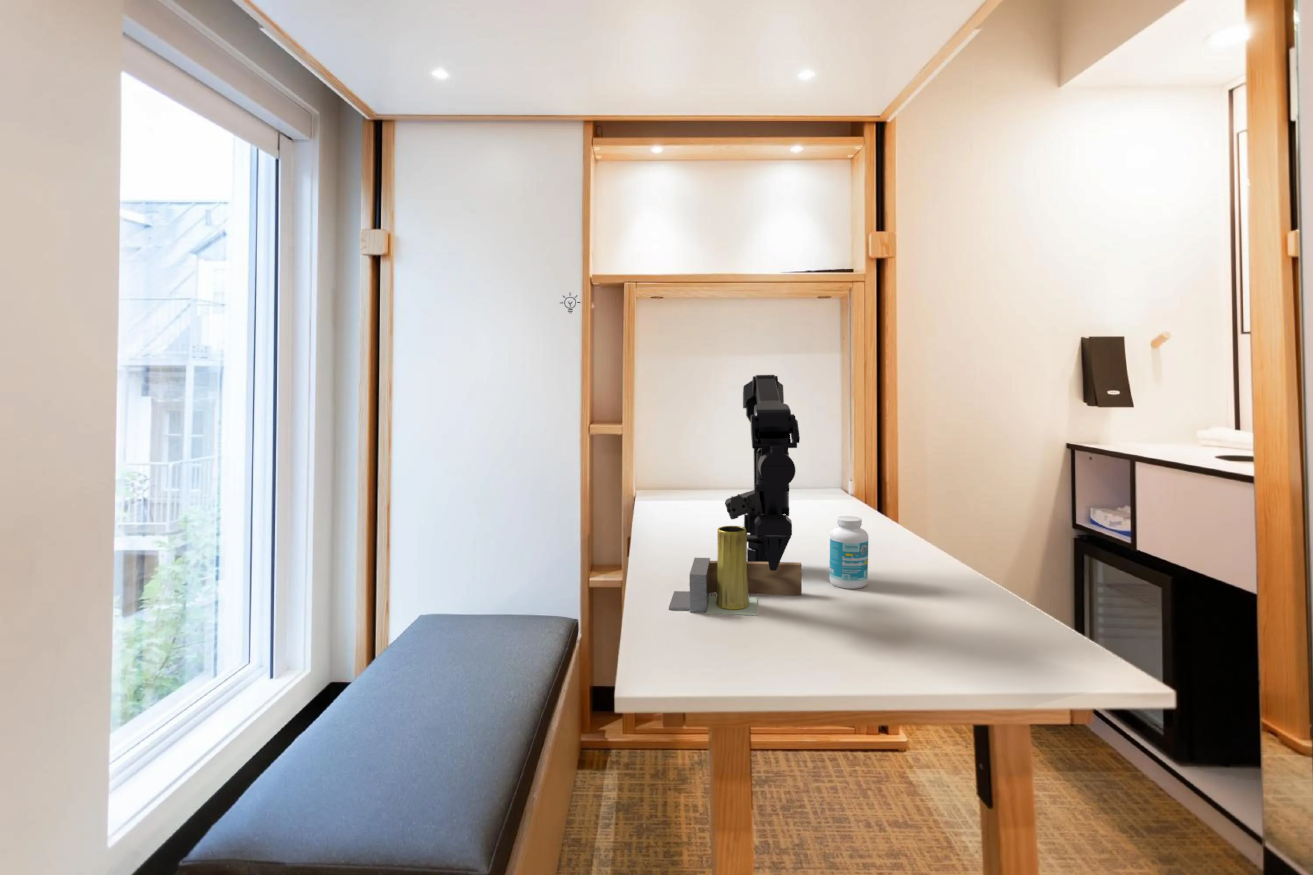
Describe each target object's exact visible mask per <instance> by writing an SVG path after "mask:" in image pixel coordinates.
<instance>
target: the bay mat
mask: <svg viewBox="0 0 1313 875" xmlns="http://www.w3.org/2000/svg"><path fill="white" fill-rule="evenodd" d="M748 597H749V606H748V607H746V608H744V609H740V610H727V609H723V608H720V607H718V606H717V605H716V599H717V595H716V596H715V595H710V597H709V602H708V608H707V612H706V613H705V614H706V615H724V616H725V615H728V616H729V615H731V616H732V615H734V616H758V597H757V596H756V597H755V596H753V597H751V596H748Z"/></svg>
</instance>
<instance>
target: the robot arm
mask: <svg viewBox="0 0 1313 875" xmlns="http://www.w3.org/2000/svg"><path fill="white" fill-rule="evenodd" d="M784 402H785V397H784V385H783V383H781V382H780V381H779V378H778V375H775V374H756V375H754V376H752V380H750V381H749V382H747V383H746V384H744V385H743V388H742V408H743V409H745V416H746V419H747V420H748V421H749V424H750V438H751V448H752V449H753V489H752V490H750V491H747V492H746V491H745V492H743V493H740V494H738V493H737V495H734V496H730V497H729V498H726V499H725V502H724V505H725V508H726V511H727V513H728V516H729V518H730V520H736V519H738V518H739V517H741V516H743V527H744V528H746V531H747V562H768V563H769V568H770V570H771V571H776V570H777V568H778V565H779V563H780V562H781V560H782V557H783V555H784V553H785V551H786V549H787V546H788V543H789V541H790V540H791V538H792V535H793V523H792V519H791V518H790V517H789V516H790V483H791V482H792V481H793V480H794V478H795V475H796V465H795V462H794V461H793V459H792V458H791V457H790V455H789V454H790V453H789V449H797V448H798V444H800V439H801V438H800V437H801V436H800V430H799V423H798V422H799V421H798V420H797V419H796V415H795V414H794V413H792V411H791V409H790V405H789V404H787V403H784Z"/></svg>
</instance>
